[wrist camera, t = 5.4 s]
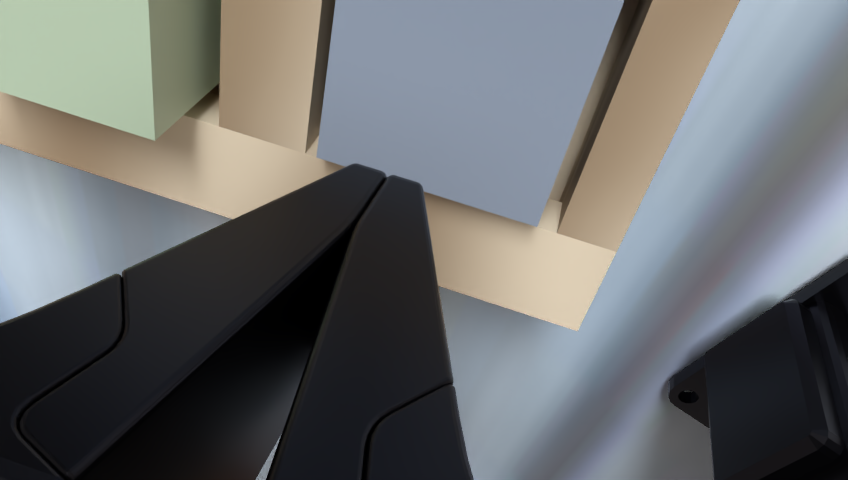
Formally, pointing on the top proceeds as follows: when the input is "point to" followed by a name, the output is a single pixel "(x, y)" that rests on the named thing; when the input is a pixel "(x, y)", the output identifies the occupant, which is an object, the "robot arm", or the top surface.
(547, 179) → the key slate
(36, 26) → the key sage
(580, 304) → the wooden slotted block
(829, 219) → the top surface
